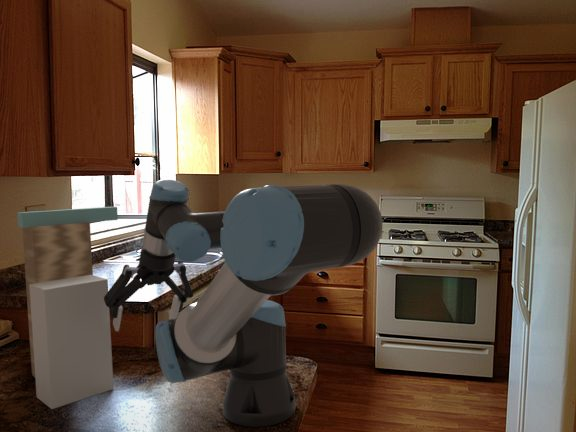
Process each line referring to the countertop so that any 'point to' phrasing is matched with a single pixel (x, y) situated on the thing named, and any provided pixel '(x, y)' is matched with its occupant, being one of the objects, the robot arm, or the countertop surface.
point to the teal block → (66, 216)
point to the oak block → (55, 258)
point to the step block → (71, 339)
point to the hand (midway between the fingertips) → (145, 323)
